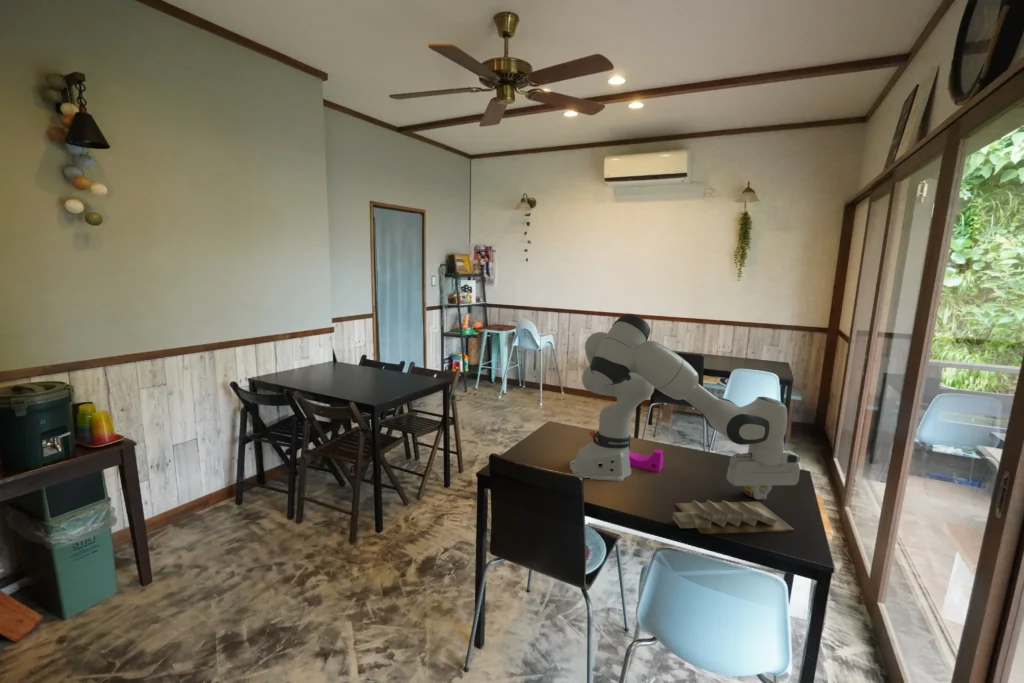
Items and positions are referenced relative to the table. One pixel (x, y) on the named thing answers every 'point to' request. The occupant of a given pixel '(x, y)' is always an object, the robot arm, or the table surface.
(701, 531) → the board
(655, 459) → the toy block
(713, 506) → the domino
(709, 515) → the domino
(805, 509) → the table surface
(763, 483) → the robot arm
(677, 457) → the table surface
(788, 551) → the table surface
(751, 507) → the domino
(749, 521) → the domino
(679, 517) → the domino
